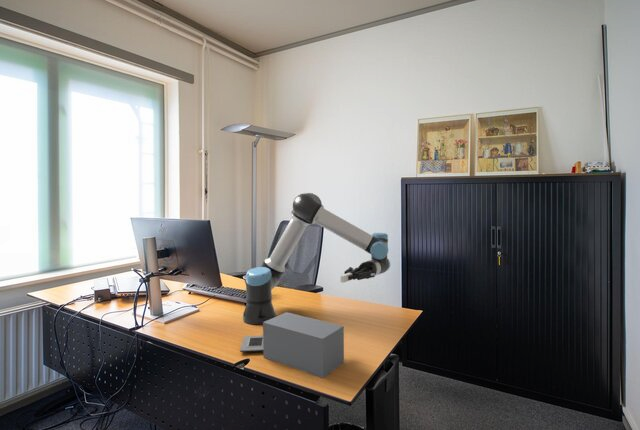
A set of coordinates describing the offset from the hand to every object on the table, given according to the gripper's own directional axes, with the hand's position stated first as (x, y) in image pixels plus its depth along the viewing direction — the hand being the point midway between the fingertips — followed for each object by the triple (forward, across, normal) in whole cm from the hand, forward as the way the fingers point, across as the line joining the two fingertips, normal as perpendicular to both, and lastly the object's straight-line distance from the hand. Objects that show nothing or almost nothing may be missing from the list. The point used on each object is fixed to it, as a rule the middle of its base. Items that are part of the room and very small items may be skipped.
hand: (342, 279), depth 144 cm
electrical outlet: (+25, +23, -26) cm, 43 cm away
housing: (+23, +1, -25) cm, 34 cm away
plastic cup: (-22, +74, -26) cm, 82 cm away
